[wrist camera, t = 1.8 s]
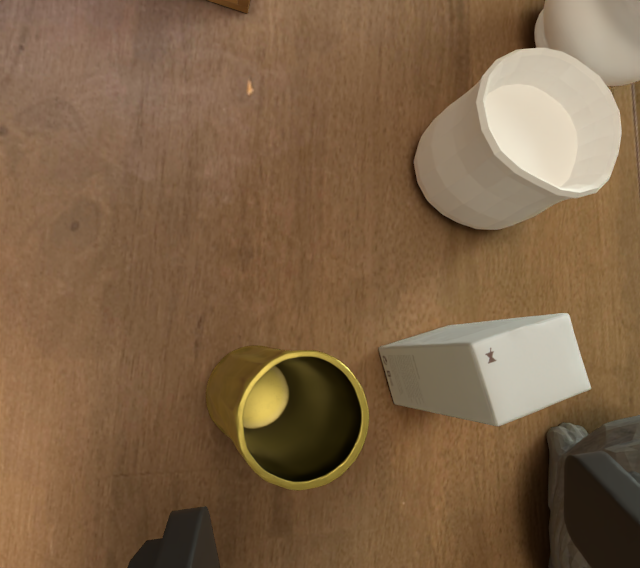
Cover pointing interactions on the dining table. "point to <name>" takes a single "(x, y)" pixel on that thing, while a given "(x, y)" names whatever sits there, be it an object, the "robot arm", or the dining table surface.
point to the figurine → (566, 439)
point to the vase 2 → (594, 35)
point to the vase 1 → (289, 413)
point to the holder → (234, 4)
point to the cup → (520, 141)
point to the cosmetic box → (487, 368)
